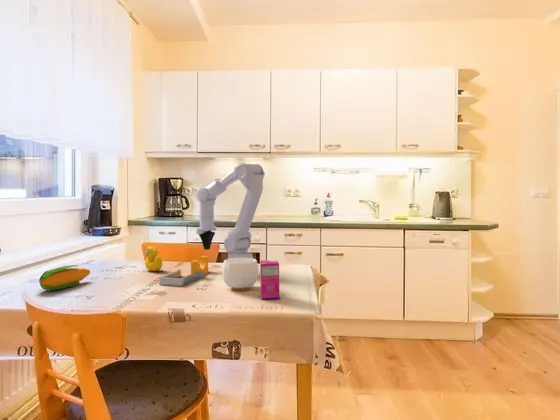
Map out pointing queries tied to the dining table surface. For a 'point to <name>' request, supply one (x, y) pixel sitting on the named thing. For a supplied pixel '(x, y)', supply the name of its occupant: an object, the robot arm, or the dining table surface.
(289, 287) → the dining table surface
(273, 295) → the supplement box
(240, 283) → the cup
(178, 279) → the grey shallow rectangular tray
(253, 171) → the robot arm
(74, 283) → the corn
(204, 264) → the pipe clamp
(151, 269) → the duckling
